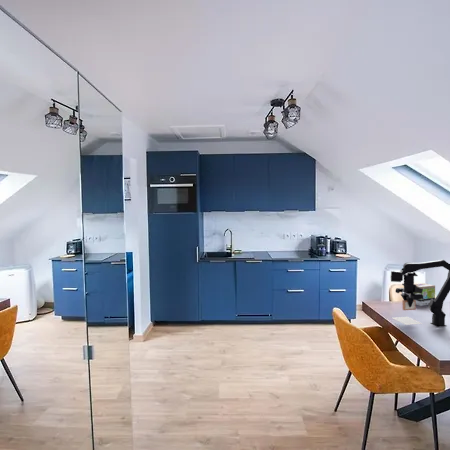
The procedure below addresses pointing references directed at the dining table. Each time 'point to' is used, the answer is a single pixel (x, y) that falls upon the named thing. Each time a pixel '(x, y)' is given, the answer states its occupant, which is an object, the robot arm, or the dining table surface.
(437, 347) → the dining table surface
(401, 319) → the mat
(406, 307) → the tile
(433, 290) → the tea box
